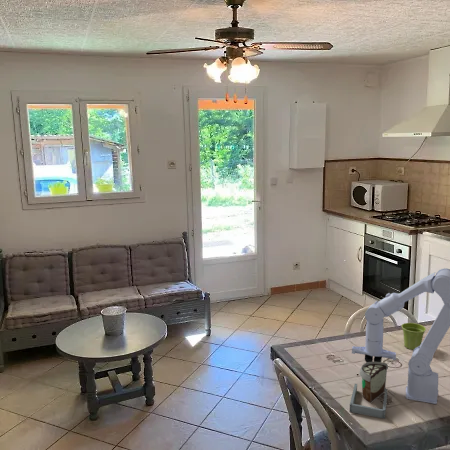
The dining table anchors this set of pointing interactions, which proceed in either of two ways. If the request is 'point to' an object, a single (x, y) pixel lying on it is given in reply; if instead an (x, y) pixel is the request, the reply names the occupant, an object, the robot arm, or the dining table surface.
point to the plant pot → (412, 335)
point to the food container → (373, 380)
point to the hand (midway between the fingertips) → (372, 375)
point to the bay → (367, 410)
